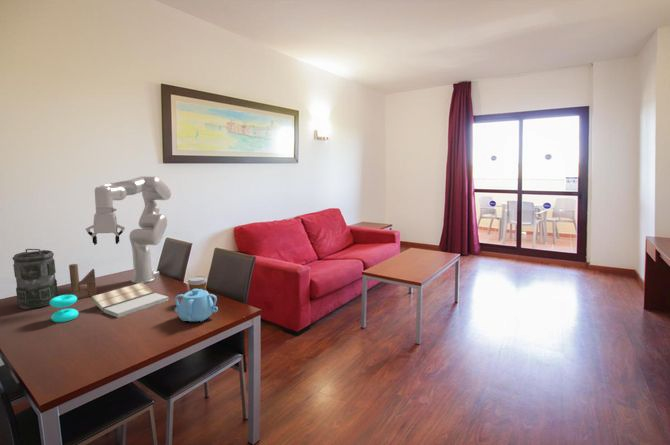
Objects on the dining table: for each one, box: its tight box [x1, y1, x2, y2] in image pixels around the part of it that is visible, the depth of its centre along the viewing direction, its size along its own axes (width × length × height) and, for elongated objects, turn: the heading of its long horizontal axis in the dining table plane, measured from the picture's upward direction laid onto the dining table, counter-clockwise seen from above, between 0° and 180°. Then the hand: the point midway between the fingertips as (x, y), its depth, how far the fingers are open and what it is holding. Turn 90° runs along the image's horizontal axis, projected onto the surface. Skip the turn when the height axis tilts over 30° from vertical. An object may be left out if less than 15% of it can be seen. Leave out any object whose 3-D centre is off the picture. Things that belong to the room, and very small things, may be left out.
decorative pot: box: [174, 289, 219, 323], centre depth 170 cm, size 16×16×14 cm
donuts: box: [49, 294, 79, 323], centre depth 167 cm, size 10×10×10 cm
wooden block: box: [68, 263, 98, 300], centre depth 194 cm, size 4×11×18 cm, turn 130°
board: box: [103, 291, 170, 318], centre depth 184 cm, size 26×12×2 cm, turn 149°
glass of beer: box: [187, 275, 208, 291], centre depth 191 cm, size 10×10×12 cm
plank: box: [91, 282, 154, 312], centre depth 189 cm, size 26×10×2 cm, turn 149°
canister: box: [12, 248, 59, 310], centre depth 183 cm, size 16×16×28 cm
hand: (106, 244), depth 192 cm, fingers open, 9 cm apart
